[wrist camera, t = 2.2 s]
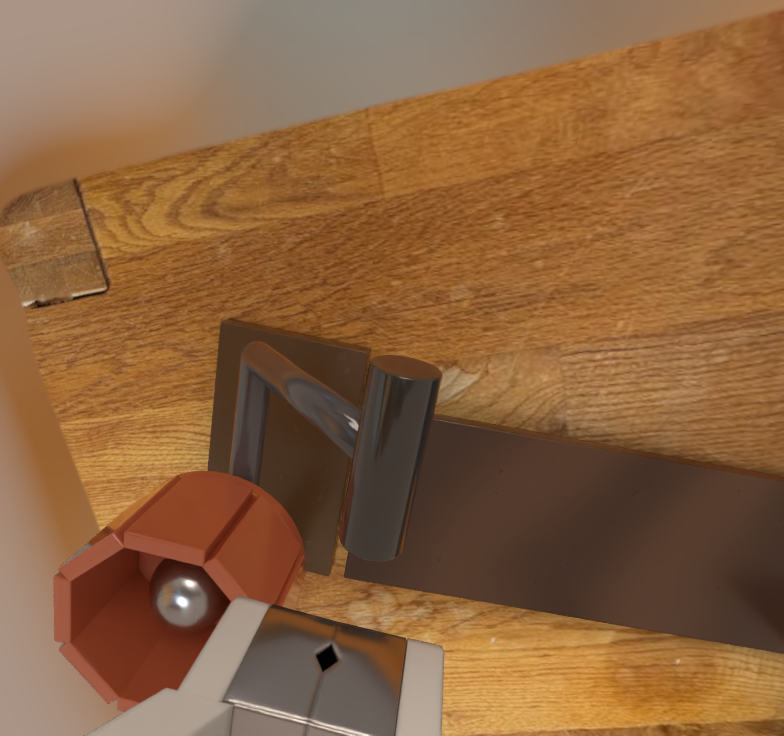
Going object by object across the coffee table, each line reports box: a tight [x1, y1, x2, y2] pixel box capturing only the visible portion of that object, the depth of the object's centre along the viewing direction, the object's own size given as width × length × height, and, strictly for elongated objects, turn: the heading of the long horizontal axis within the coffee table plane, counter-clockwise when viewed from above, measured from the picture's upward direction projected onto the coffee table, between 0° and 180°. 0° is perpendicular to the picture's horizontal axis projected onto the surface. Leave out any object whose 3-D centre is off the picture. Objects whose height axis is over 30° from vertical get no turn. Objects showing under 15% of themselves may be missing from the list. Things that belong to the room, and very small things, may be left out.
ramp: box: [344, 413, 784, 654], centre depth 28 cm, size 26×10×3 cm, turn 80°
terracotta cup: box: [54, 341, 442, 712], centre depth 18 cm, size 11×16×7 cm
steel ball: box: [148, 558, 231, 632], centre depth 19 cm, size 3×3×3 cm
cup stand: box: [208, 319, 371, 576], centre depth 25 cm, size 8×14×10 cm, turn 170°
